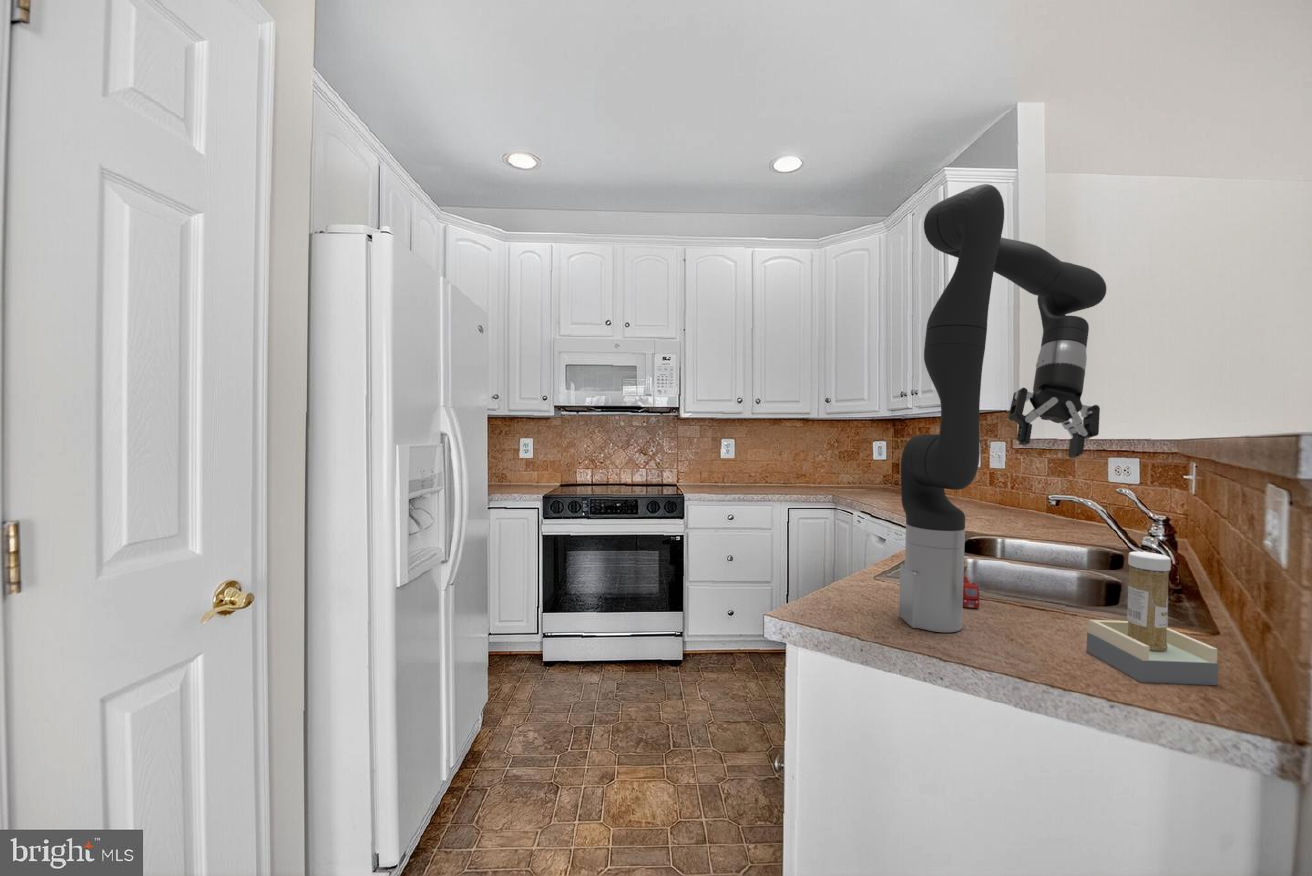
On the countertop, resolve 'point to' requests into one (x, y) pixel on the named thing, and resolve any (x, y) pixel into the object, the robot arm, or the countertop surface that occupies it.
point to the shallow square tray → (1153, 655)
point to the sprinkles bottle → (1148, 599)
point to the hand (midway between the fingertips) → (1048, 450)
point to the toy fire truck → (970, 592)
